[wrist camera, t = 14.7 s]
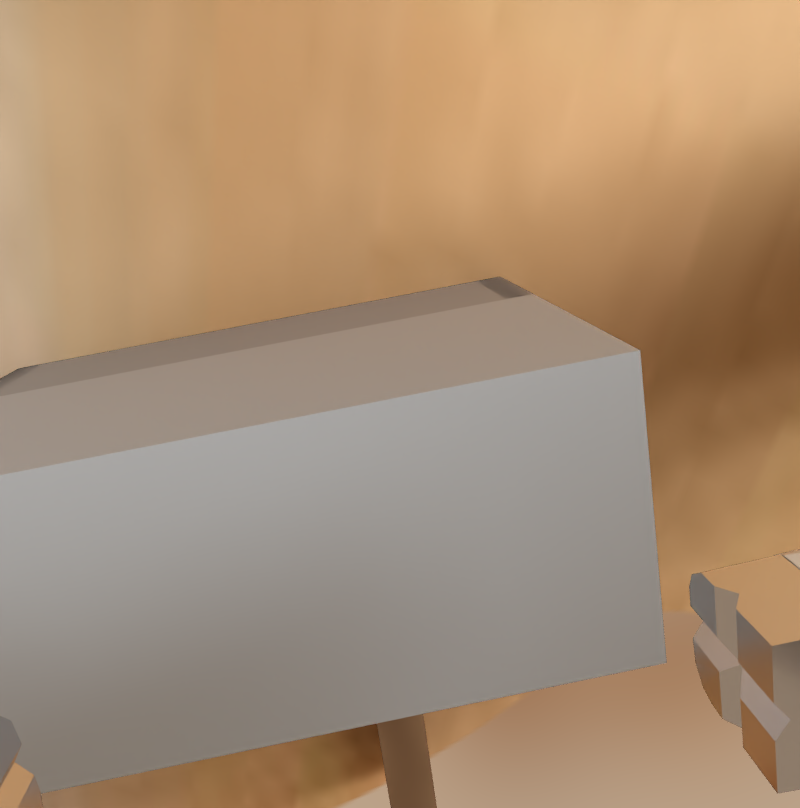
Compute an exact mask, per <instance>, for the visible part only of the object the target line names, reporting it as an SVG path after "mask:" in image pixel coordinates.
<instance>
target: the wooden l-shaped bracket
mask: <svg viewBox="0 0 800 808" xmlns="http://www.w3.org/2000/svg"><path fill="white" fill-rule="evenodd" d="M377 728H378V734H379V740H380V746H381V752H382V757H383V763H384V769H385V775H386V781H387V787H388V793H389V799H390V805H391V808H437V806H436V799H435V793H434V786H433V779H432V772H431V765H430V758H429V751H428V745H427V738H426V731H425V724H424V717H423V714H420V715H415V716H410V717H405V718H401V719H396V720H391V721H386V722H381V723H377Z"/></svg>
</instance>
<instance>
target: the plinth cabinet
mask: <svg viewBox="0 0 800 808" xmlns="http://www.w3.org/2000/svg"><path fill="white" fill-rule="evenodd" d="M664 663H667V661H666V649H665V637H664V626H663V613H662V602H661V590H660V578H659V566H658V554H657V543H656V531H655V519H654V507H653V496H652V484H651V472H650V460H649V449H648V437H647V425H646V413H645V401H644V390H643V378H642V366H641V354H640V350H639V349H637V348H635V347H633V346H631V345H629V344H627V343H625V342H624V341H622V340H620V339H618V338H616V337H614V336H612V335H610V334H608V333H606V332H605V331H603V330H601V329H599V328H597V327H595V326H593V325H591V324H589V323H587V322H586V321H584V320H582V319H580V318H578V317H576V316H574V315H572V314H570V313H568V312H567V311H565V310H563V309H561V308H559V307H557V306H555V305H553V304H551V303H549V302H548V301H546V300H544V299H542V298H540V297H538V296H536V295H534V294H532V293H530V292H529V291H527V290H525V289H523V288H521V287H519V286H517V285H515V284H513V283H511V282H510V281H508V280H506V279H504V278H502V277H496V278H490V279H485V280H480V281H475V282H469V283H464V284H459V285H454V286H448V287H443V288H438V289H433V290H427V291H422V292H417V293H412V294H407V295H401V296H396V297H391V298H386V299H380V300H375V301H370V302H365V303H359V304H354V305H349V306H344V307H338V308H333V309H328V310H323V311H318V312H312V313H307V314H302V315H297V316H291V317H286V318H281V319H276V320H270V321H265V322H260V323H255V324H250V325H244V326H239V327H234V328H229V329H223V330H218V331H213V332H208V333H202V334H197V335H192V336H187V337H181V338H176V339H171V340H166V341H161V342H155V343H150V344H145V345H140V346H134V347H129V348H124V349H119V350H113V351H108V352H103V353H98V354H92V355H87V356H82V357H77V358H72V359H66V360H61V361H56V362H51V363H45V364H40V365H35V366H30V367H24V368H19V369H17V370H15V371H13V372H12V373H10V374H8V375H6V376H4V377H3V378H1V379H0V716H2V717H4V718H6V719H9V720H11V721H12V723H13V726H14V728H15V730H16V732H17V734H18V737H19V739H20V741H21V743H22V745H21V747H20V750H19V752H18V755H17V757H16V760H15V763H17V764H18V765H20V766H21V767H23V768H24V769H26V770H27V771H29V772H30V773H32V774H33V775H34V776H35V778H36V781H37V784H38V786H39V789H40V792H41V794H42V793H46V792H51V791H56V790H61V789H66V788H70V787H75V786H80V785H85V784H90V783H94V782H99V781H104V780H109V779H113V778H118V777H123V776H128V775H133V774H137V773H142V772H147V771H152V770H157V769H161V768H166V767H171V766H176V765H180V764H185V763H190V762H195V761H200V760H204V759H209V758H214V757H219V756H224V755H228V754H233V753H238V752H243V751H247V750H252V749H257V748H262V747H267V746H271V745H276V744H281V743H286V742H291V741H295V740H300V739H305V738H310V737H314V736H319V735H324V734H329V733H334V732H338V731H343V730H348V729H353V728H358V727H362V726H367V725H372V724H377V723H381V722H386V721H391V720H396V719H401V718H405V717H410V716H415V715H420V714H425V713H429V712H434V711H439V710H444V709H449V708H453V707H458V706H463V705H468V704H472V703H477V702H482V701H487V700H492V699H496V698H501V697H506V696H511V695H516V694H520V693H525V692H530V691H535V690H539V689H544V688H549V687H554V686H558V685H563V684H568V683H573V682H577V681H583V680H587V679H592V678H597V677H601V676H606V675H611V674H616V673H620V672H625V671H630V670H635V669H640V668H645V667H650V666H654V665H659V664H664Z"/></svg>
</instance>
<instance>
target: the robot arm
mask: <svg viewBox="0 0 800 808" xmlns="http://www.w3.org/2000/svg"><path fill="white" fill-rule="evenodd" d="M689 589H690V606H691V607H692V608H693V609H694V611H695V612H696V613H697V614H698V615H699V616H700V618H701V619H702V620H703V622H702V624H701V626H700V627H699V629H698V630H697V632H696V634H695V636H694V637H693V643H694V653H695V662H696V666H697V669H698V672H699V675H700V679H701V682H702V685H703V688H704V690H705V692H706V694H707V696H708V697H709V699H710V701H711V703H712V704H713V706H714V708H715V709H716V710H717V712H718V713H719V715H720V716H721V717H722V719H724V720H726V721H728V722H730V723H732V724H735V725H737V726H739V727H741V728H742V734H743V748H744V749H745V750H746V752H747V753H748V754H749V756H750V757H751V758H752V760H753V761H754V762H755V764H756V765H757V766H758V768H759V769H760V770H761V772H762V773H763V774H764V776H765V777H766V779H767V780H768V781H769V783H770V784H771V785H772V787H773V788H774V789H775V791H776V792H777V793H783V792H789V791H794V790H800V549H797V550H793V551H789V552H785V553H781V554H777V555H774V556H771V557H766V558H762V559H758V560H753V561H749V562H744V563H740V564H736V565H731V566H727V567H722V568H718V569H714V570H709V571H705V572H700V573H696V574H692V576H691V581H690V586H689ZM21 745H22V743H21V741H20V739H19V737H18V734H17V732H16V730H15V728H14V726H13V723H12V721H11V720H9V719H6V718H4V717H2V716H0V808H43V804H42V797H41V792H40V789H39V786H38V784H37V781H36V778H35V776H34V775H33V774H32V773H30V772H29V771H27V770H26V769H24V768H23V767H21V766H20V765H18V764H17V763H15V760H16V757H17V755H18V752H19V750H20V747H21Z"/></svg>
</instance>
